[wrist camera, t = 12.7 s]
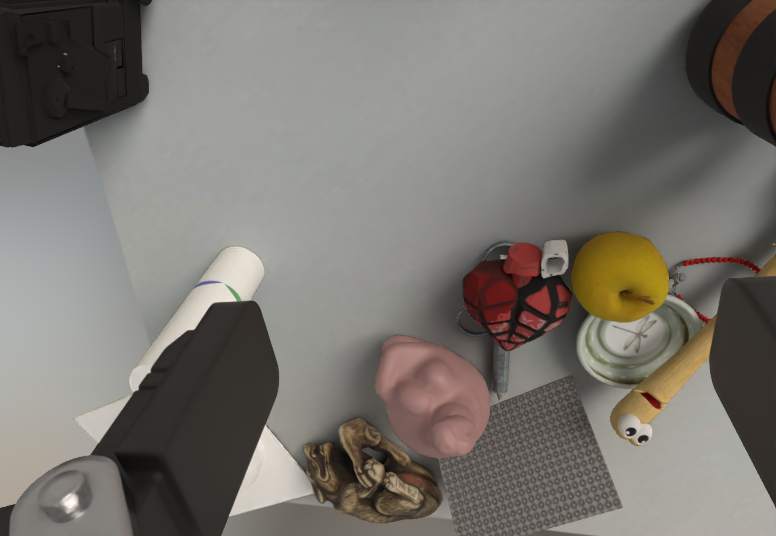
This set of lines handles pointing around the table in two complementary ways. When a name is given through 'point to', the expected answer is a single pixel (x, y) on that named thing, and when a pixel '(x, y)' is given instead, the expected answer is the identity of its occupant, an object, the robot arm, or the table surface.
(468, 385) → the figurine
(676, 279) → the necklace
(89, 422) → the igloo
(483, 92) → the table surface
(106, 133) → the table surface
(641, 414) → the novelty tool
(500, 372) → the scissors
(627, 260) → the apple
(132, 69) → the camera
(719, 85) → the mug
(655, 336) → the saucer
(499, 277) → the grenade
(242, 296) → the tube
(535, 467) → the grey studded plate
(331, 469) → the figurine
